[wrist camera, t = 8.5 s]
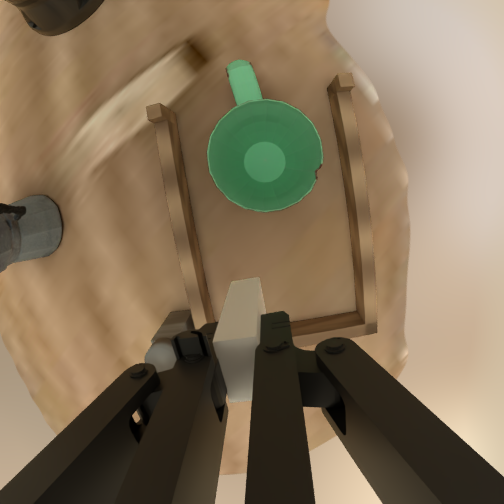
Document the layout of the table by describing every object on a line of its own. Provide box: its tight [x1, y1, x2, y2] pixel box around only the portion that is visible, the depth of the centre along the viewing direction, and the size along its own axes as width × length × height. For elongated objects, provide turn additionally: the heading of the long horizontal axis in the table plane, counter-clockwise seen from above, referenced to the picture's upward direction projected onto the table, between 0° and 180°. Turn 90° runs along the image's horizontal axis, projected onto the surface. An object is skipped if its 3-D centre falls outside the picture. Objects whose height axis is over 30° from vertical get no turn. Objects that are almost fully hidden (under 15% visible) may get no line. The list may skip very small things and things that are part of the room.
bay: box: [145, 73, 377, 373], centre depth 32 cm, size 29×25×10 cm
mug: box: [207, 60, 324, 213], centre depth 30 cm, size 15×10×10 cm
